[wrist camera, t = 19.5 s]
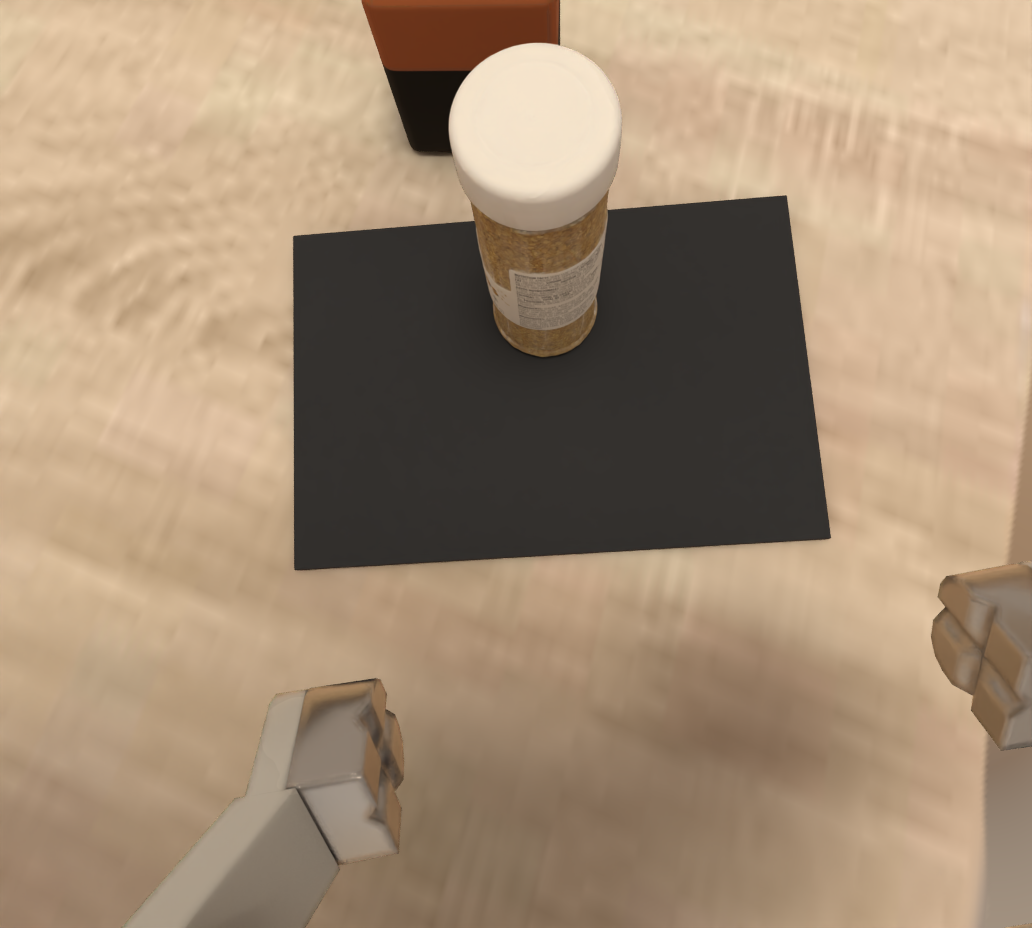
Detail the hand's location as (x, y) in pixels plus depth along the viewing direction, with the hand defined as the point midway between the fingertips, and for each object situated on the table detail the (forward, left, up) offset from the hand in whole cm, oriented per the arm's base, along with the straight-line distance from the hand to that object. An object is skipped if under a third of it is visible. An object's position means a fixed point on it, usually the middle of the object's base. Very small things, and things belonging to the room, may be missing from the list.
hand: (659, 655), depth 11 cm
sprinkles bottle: (-1, +13, -20) cm, 23 cm away
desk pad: (-1, +10, -20) cm, 22 cm away
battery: (-3, +23, -20) cm, 31 cm away
